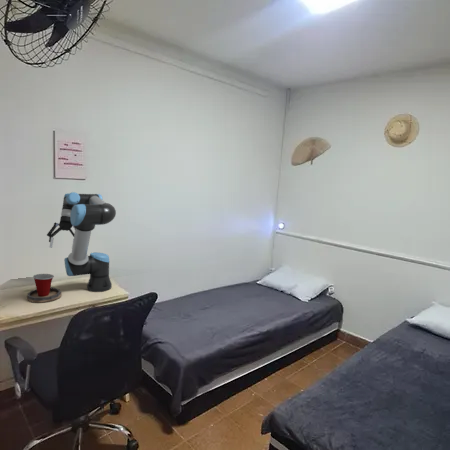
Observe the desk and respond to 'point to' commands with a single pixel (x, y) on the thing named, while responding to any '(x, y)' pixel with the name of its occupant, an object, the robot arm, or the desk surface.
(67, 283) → the desk surface
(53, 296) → the cup holder
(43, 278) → the plastic cup
